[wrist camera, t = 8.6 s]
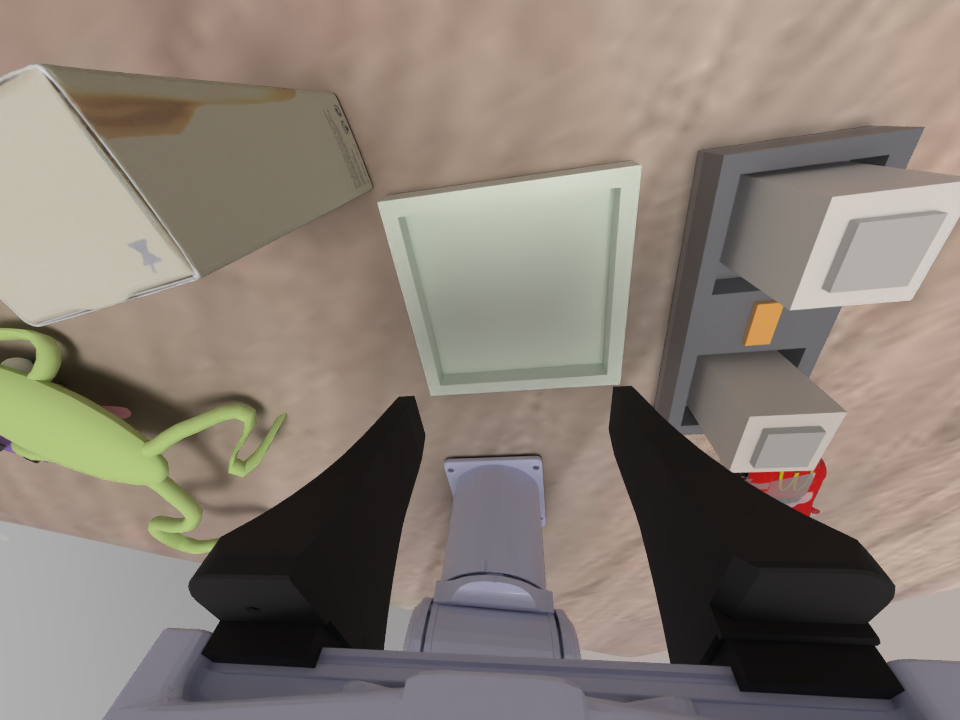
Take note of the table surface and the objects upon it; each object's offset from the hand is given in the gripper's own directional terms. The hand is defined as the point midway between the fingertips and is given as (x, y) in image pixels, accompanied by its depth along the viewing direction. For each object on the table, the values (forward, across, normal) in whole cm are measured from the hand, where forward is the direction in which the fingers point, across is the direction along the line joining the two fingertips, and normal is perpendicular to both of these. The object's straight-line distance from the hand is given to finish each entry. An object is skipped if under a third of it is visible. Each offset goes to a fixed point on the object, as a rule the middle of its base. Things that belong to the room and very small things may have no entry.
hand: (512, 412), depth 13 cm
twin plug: (+9, -13, +6) cm, 17 cm away
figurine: (+10, +31, +8) cm, 34 cm away
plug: (+9, -13, -4) cm, 16 cm away
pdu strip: (+10, -13, +1) cm, 16 cm away
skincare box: (+10, +10, -8) cm, 16 cm away
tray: (+10, 0, -1) cm, 10 cm away
